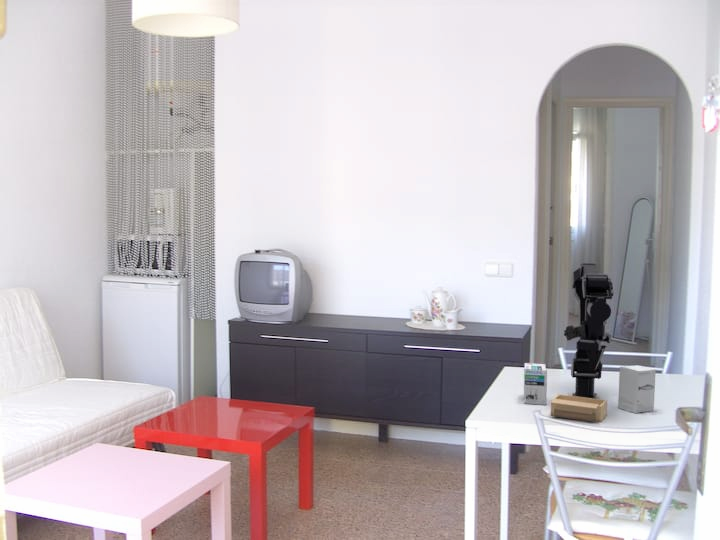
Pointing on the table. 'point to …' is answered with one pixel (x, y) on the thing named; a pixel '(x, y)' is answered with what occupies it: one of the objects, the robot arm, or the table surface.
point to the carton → (602, 404)
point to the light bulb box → (535, 383)
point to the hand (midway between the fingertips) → (593, 370)
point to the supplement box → (636, 388)
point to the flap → (574, 410)
